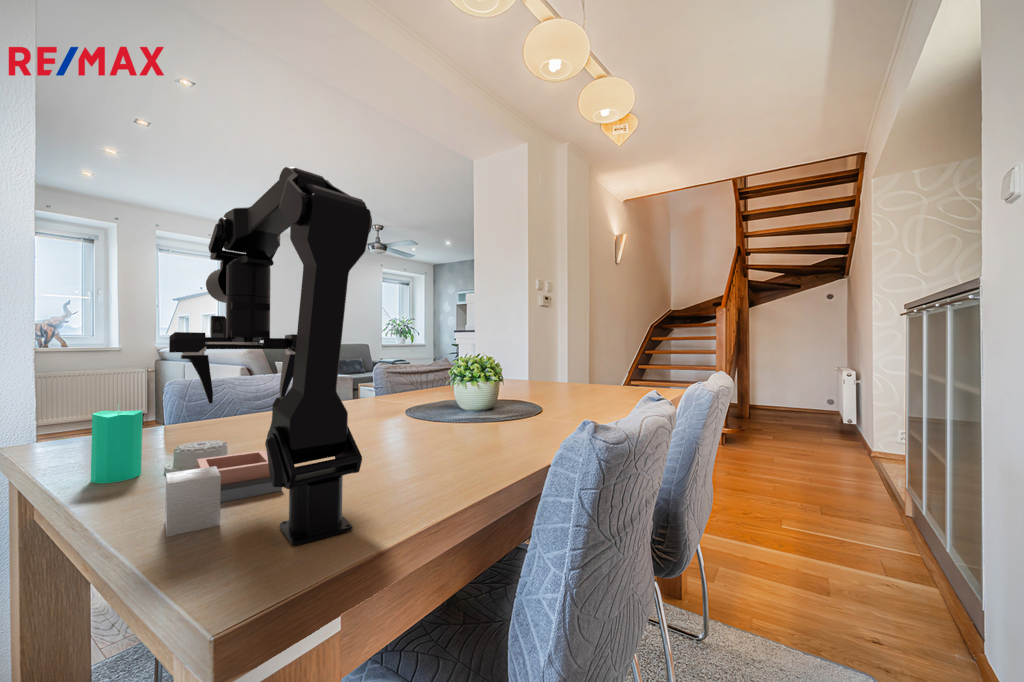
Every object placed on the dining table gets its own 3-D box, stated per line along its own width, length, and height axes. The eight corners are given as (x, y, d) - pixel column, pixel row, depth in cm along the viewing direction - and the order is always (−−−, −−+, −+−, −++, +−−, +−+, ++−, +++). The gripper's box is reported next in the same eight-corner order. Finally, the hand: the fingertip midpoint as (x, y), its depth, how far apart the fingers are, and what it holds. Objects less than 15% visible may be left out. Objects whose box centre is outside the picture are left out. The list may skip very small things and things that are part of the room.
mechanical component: (147, 478, 69) (208, 479, 69) (148, 450, 69) (208, 451, 69) (194, 461, 79) (247, 462, 79) (195, 437, 79) (248, 438, 79)
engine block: (219, 525, 51) (220, 475, 51) (166, 537, 48) (167, 483, 48) (215, 512, 55) (215, 466, 55) (165, 522, 52) (166, 473, 52)
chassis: (281, 490, 63) (282, 463, 63) (198, 506, 57) (199, 476, 57) (265, 471, 72) (265, 448, 72) (191, 483, 66) (192, 457, 66)
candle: (79, 481, 66) (81, 404, 66) (121, 470, 72) (123, 399, 72) (111, 484, 65) (113, 405, 65) (151, 473, 71) (152, 401, 71)
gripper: (302, 306, 77) (301, 392, 76) (169, 298, 65) (168, 400, 65) (319, 300, 68) (318, 397, 68) (170, 290, 56) (168, 408, 56)
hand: (247, 400), depth 64 cm, fingers open, 9 cm apart
